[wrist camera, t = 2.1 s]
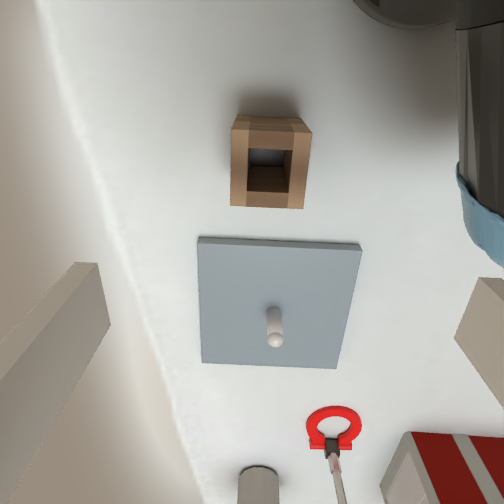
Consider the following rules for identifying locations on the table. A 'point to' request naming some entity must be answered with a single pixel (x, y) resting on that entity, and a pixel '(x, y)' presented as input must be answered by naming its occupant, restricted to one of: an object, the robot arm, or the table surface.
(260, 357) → the pin plate
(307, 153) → the block
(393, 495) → the striped mailbox
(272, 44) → the table surface
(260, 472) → the water bottle
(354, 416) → the tow hook
